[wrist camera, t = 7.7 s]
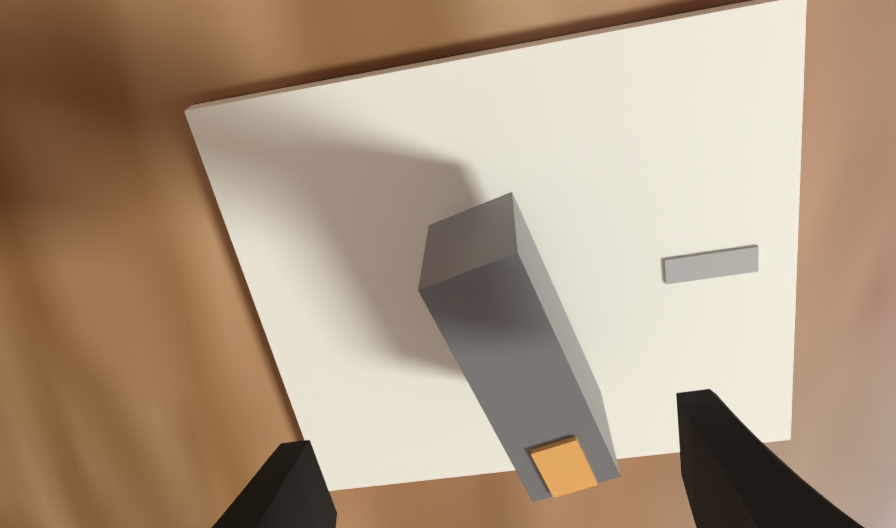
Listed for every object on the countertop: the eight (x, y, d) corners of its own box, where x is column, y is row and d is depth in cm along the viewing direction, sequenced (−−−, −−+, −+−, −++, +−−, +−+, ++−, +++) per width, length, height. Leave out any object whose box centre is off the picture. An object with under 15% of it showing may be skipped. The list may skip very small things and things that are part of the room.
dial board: (796, -8, 18) (807, -4, 17) (783, 427, 24) (791, 441, 23) (192, 104, 20) (182, 112, 19) (326, 479, 26) (322, 493, 25)
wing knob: (596, 371, 22) (621, 481, 18) (524, 395, 23) (533, 506, 19) (510, 177, 19) (517, 256, 15) (431, 210, 20) (417, 293, 16)
